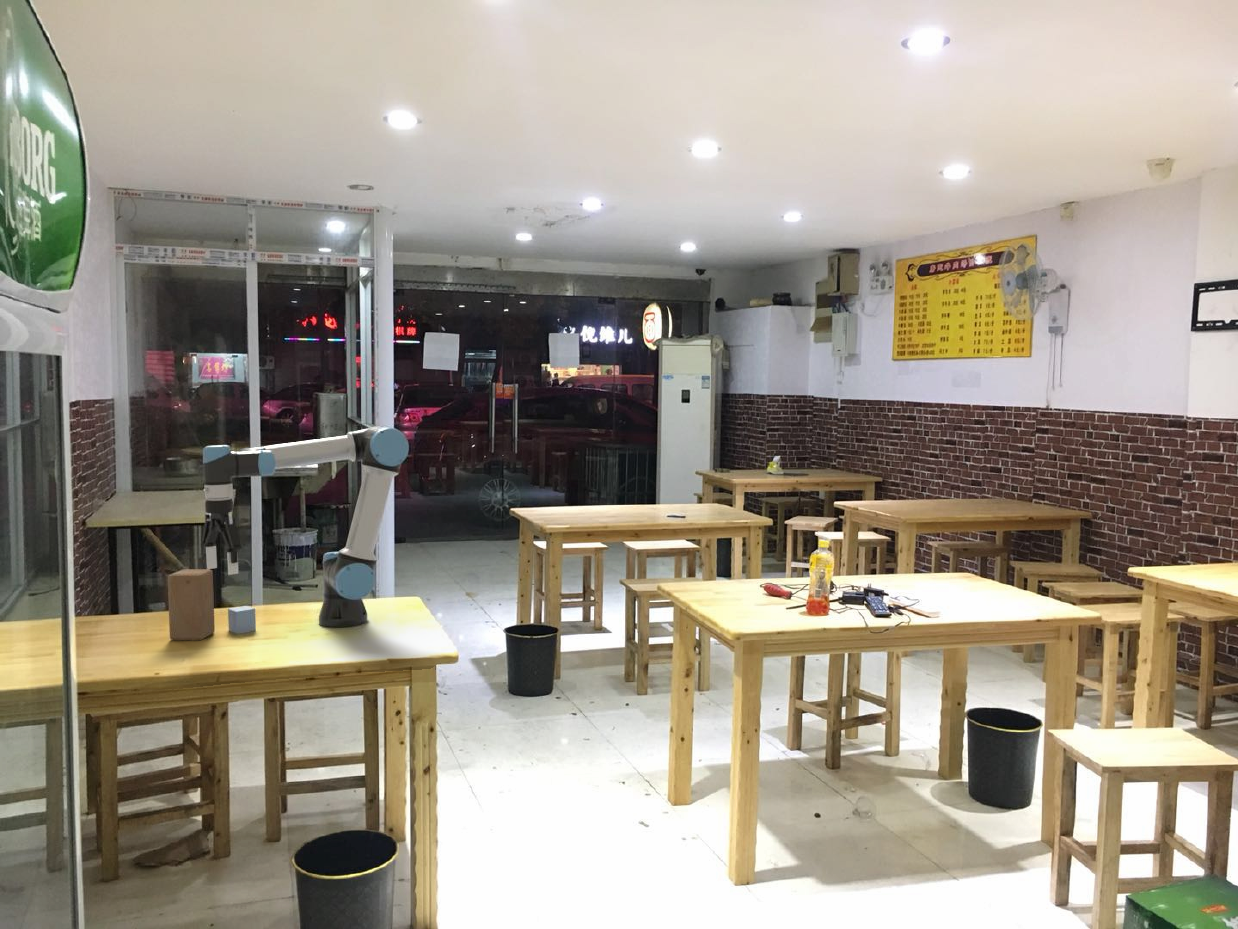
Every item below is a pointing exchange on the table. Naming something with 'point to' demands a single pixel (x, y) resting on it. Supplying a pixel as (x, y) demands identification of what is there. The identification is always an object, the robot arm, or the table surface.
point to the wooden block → (191, 604)
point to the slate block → (241, 619)
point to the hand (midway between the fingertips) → (222, 571)
